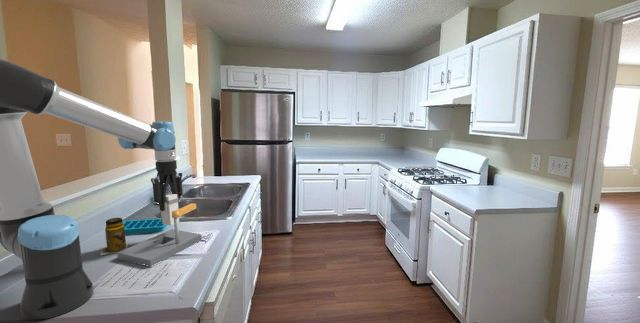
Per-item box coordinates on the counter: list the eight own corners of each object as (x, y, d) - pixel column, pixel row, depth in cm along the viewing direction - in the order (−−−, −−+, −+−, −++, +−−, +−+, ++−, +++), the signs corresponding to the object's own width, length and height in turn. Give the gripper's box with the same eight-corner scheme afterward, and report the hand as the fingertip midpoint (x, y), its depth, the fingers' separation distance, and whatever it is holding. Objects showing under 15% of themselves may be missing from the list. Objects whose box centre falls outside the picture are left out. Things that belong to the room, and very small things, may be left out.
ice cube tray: (123, 227, 138) (123, 221, 137) (171, 223, 142) (170, 217, 142) (112, 237, 127) (112, 230, 126) (164, 233, 131) (163, 226, 131)
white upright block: (170, 225, 120) (168, 197, 118) (161, 224, 122) (159, 196, 120) (180, 221, 125) (177, 194, 123) (171, 220, 126) (169, 193, 124)
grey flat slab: (151, 267, 101) (150, 260, 100) (118, 259, 106) (117, 252, 106) (201, 240, 123) (201, 234, 123) (172, 234, 129) (171, 229, 128)
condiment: (127, 250, 113) (124, 220, 112) (100, 256, 109) (96, 224, 107) (127, 243, 119) (124, 215, 118) (101, 248, 115) (97, 219, 113)
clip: (172, 243, 113) (170, 212, 112) (193, 231, 125) (191, 203, 123) (177, 243, 113) (175, 213, 111) (198, 231, 125) (196, 203, 123)
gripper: (153, 164, 109) (158, 224, 113) (190, 157, 126) (193, 210, 130) (138, 163, 112) (144, 221, 116) (176, 156, 129) (180, 208, 132)
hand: (170, 215), depth 123 cm, fingers closed on white upright block, 5 cm apart
